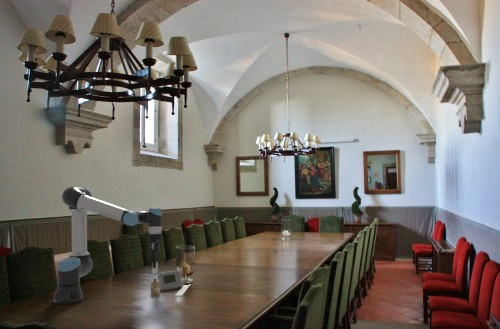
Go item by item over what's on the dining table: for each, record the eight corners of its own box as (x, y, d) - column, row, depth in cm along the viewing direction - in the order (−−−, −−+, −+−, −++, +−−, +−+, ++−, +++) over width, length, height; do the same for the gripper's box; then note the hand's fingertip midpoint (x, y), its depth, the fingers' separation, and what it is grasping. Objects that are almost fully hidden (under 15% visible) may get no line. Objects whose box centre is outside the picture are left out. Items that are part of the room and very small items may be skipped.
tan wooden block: (150, 295, 241) (150, 279, 242) (152, 293, 245) (152, 278, 246) (157, 295, 241) (157, 279, 242) (159, 293, 245) (159, 278, 246)
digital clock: (159, 291, 251) (159, 273, 252) (155, 288, 259) (155, 271, 260) (184, 288, 259) (184, 271, 259) (180, 285, 266) (180, 269, 267)
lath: (174, 296, 238) (174, 295, 238) (185, 283, 274) (185, 282, 274) (181, 296, 238) (181, 295, 238) (191, 283, 273) (191, 282, 274)
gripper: (158, 234, 239) (158, 275, 237) (163, 232, 253) (163, 270, 251) (145, 234, 239) (145, 275, 237) (151, 232, 253) (151, 270, 251)
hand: (155, 272), depth 244 cm, fingers closed
